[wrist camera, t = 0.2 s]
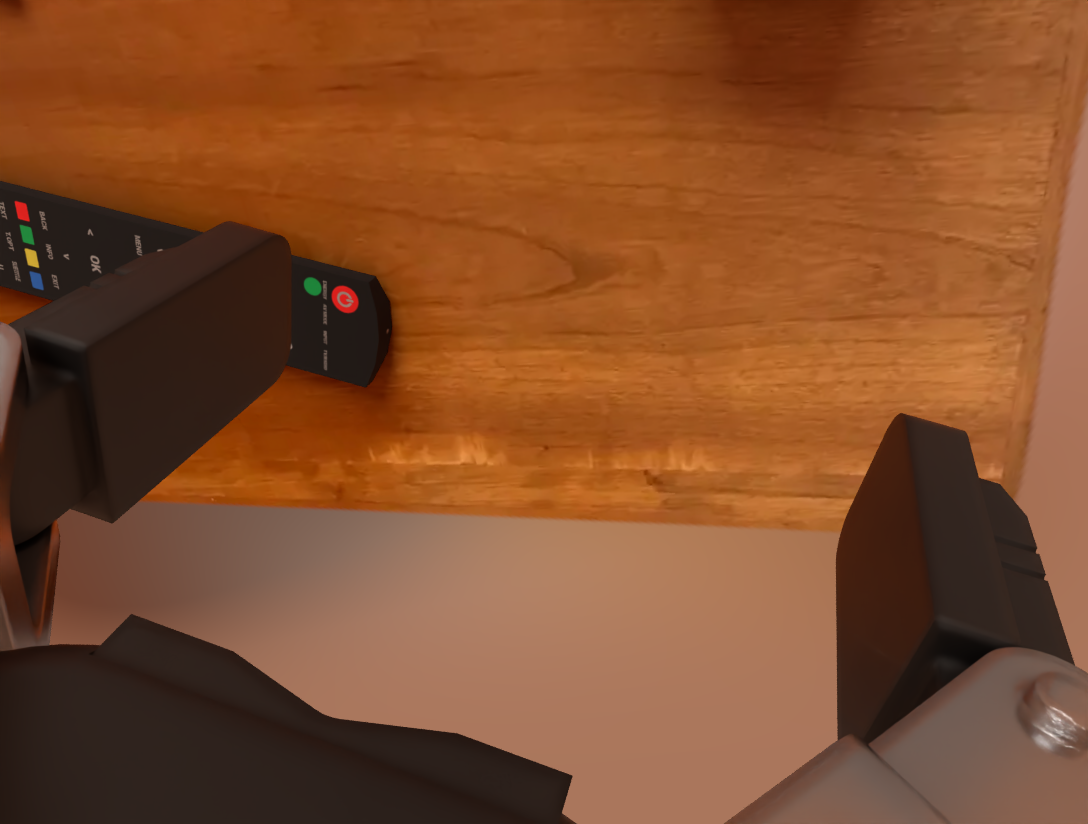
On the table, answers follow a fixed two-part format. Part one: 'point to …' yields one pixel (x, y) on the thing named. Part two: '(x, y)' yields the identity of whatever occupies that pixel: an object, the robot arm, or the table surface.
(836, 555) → the robot arm
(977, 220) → the table surface
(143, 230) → the remote control
